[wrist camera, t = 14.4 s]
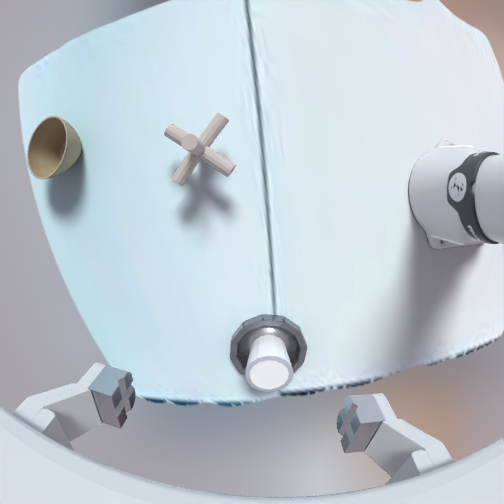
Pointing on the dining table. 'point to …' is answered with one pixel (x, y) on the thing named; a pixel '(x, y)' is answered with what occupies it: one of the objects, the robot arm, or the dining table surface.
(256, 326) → the bowl
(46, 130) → the tan bowl
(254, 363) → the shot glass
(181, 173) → the pipe connector
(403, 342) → the dining table surface
